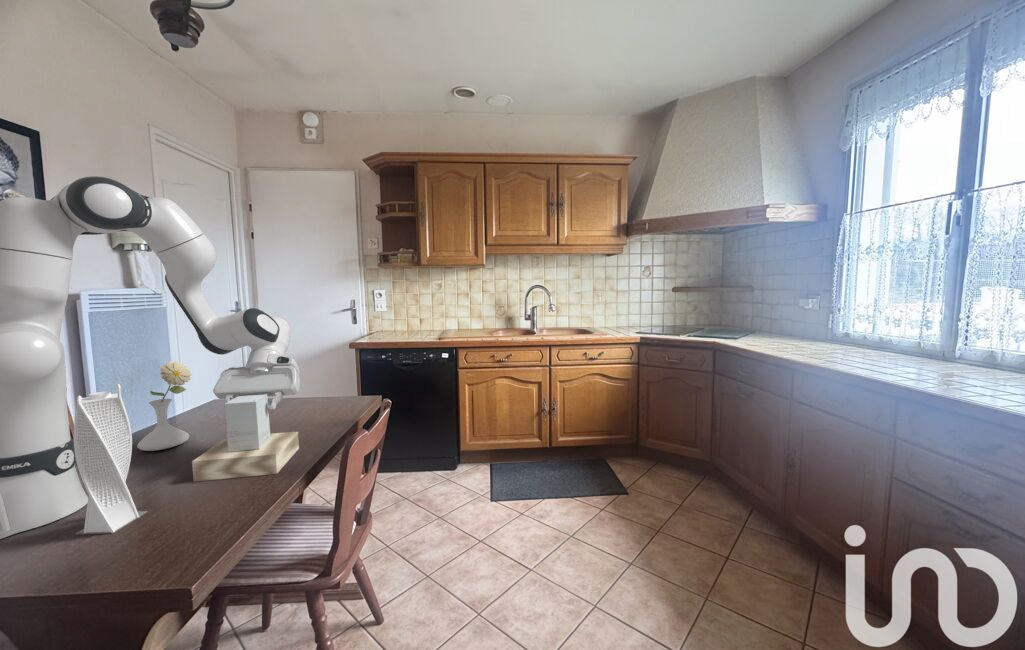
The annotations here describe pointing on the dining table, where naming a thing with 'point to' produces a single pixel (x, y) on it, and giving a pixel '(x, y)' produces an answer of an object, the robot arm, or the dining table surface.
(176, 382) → the flower in vase
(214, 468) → the birch stand
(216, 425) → the dining table surface
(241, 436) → the supplement box
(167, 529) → the dining table surface
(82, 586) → the dining table surface
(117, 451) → the skyscraper
